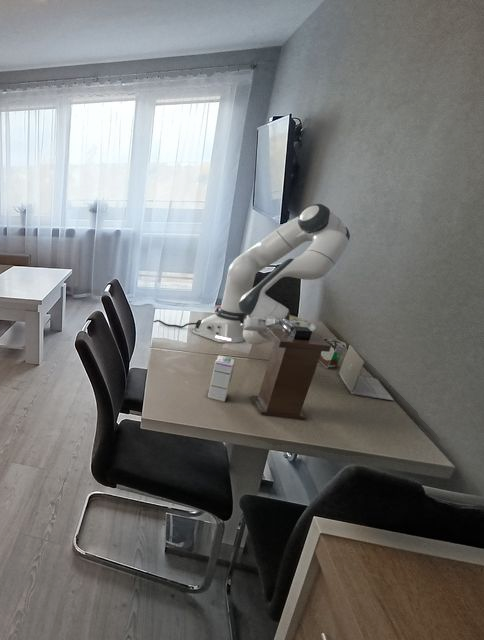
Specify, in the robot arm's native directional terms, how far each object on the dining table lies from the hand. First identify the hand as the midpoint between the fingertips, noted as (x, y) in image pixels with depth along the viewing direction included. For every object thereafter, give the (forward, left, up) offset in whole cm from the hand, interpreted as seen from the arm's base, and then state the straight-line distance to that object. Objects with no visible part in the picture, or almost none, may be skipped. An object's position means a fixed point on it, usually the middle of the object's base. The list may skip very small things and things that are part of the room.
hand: (285, 321), depth 140 cm
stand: (+6, -10, -27) cm, 29 cm away
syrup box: (-11, -17, -27) cm, 34 cm away
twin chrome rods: (+3, -4, -1) cm, 5 cm away
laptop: (+26, +31, -27) cm, 49 cm away
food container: (+13, +46, -27) cm, 55 cm away
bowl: (-14, +76, -27) cm, 82 cm away
